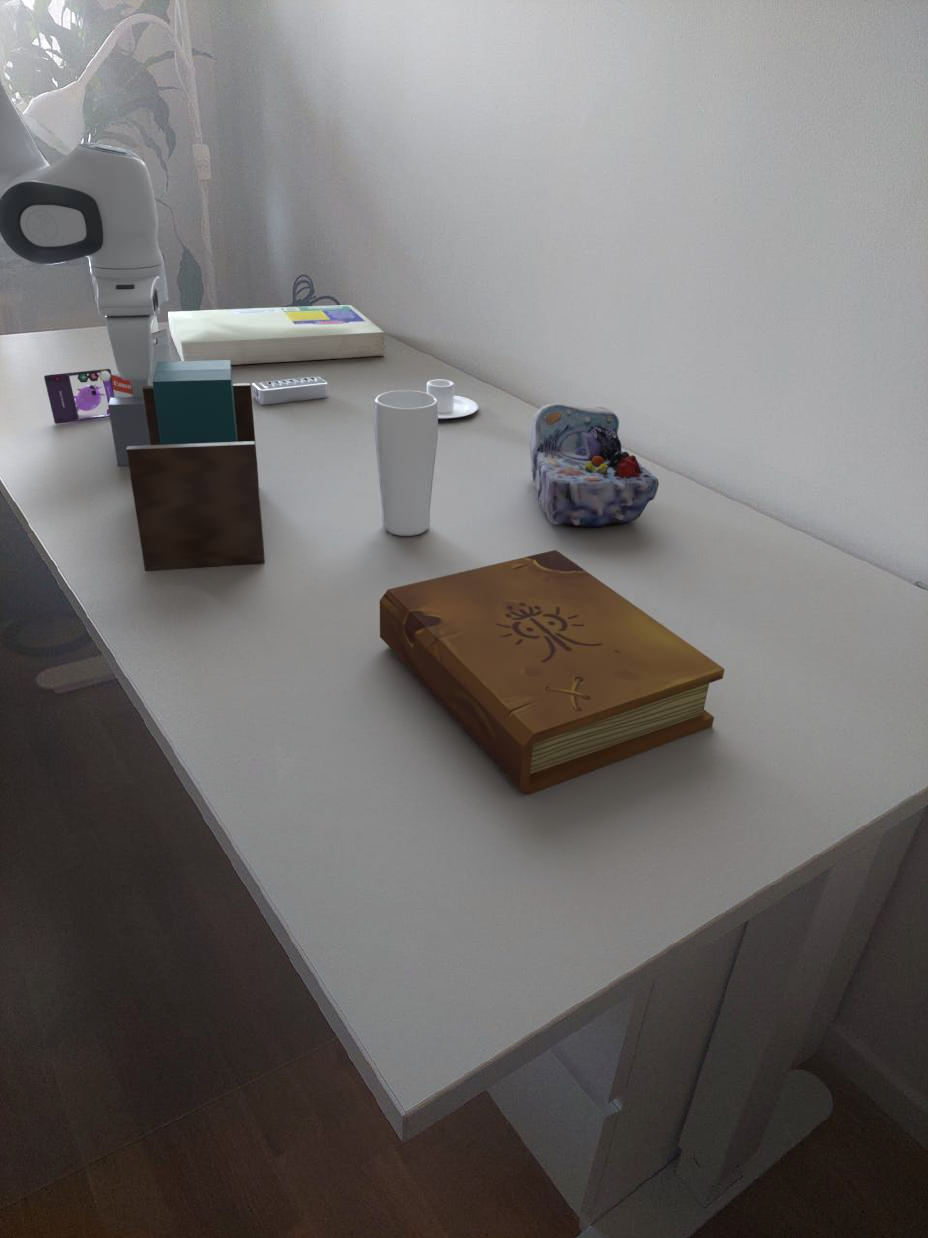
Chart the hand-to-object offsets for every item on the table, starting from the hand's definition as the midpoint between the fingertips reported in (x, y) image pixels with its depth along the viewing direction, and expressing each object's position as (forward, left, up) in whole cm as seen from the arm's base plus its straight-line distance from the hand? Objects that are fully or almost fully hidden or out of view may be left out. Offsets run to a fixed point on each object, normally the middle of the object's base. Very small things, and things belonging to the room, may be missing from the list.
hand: (146, 394), depth 125 cm
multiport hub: (+20, +18, -7) cm, 27 cm away
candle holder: (+42, +9, -7) cm, 43 cm away
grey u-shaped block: (0, 0, -6) cm, 6 cm away
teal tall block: (+8, -24, -5) cm, 25 cm away
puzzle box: (+19, +50, -7) cm, 54 cm away
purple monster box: (-10, +12, -7) cm, 17 cm away
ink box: (0, 0, -7) cm, 7 cm away
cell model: (+52, -29, -7) cm, 60 cm away
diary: (+36, -66, -7) cm, 75 cm away
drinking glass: (+30, -33, -7) cm, 45 cm away
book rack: (+8, -29, -6) cm, 31 cm away
